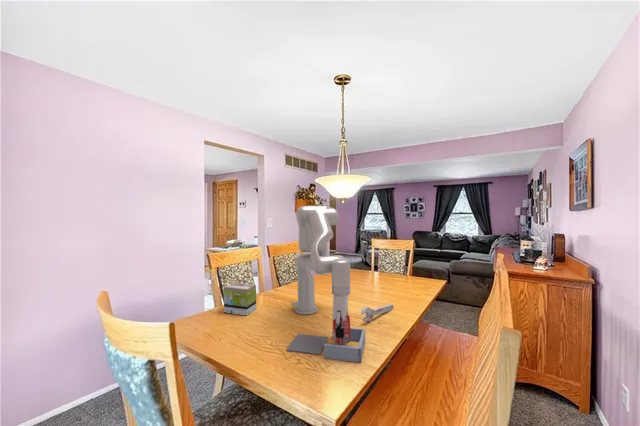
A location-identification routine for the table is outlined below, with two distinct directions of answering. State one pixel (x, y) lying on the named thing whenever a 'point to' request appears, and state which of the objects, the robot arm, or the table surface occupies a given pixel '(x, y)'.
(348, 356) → the cubby
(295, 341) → the mat
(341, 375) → the table surface
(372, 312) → the wrench
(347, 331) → the soda can
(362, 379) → the table surface
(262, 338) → the table surface
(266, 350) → the table surface
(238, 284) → the tea box
